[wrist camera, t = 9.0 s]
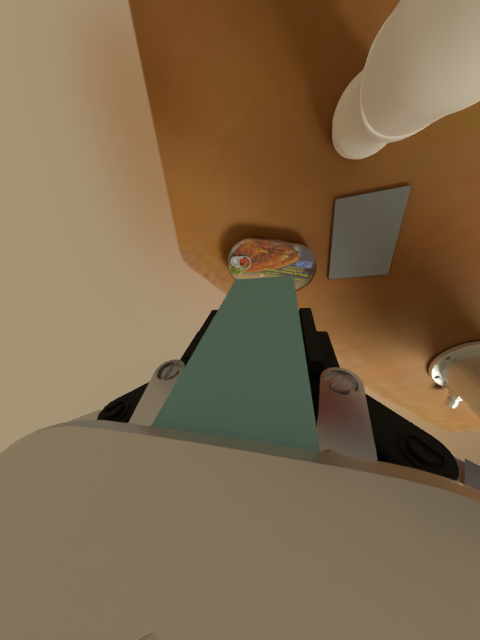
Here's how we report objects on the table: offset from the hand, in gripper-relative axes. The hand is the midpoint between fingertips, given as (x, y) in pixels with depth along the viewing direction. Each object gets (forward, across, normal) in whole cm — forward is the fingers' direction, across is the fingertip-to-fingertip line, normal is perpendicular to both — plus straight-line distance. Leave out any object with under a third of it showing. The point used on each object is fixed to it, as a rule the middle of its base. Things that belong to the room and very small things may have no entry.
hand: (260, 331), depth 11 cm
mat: (+25, -14, 0) cm, 29 cm away
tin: (+24, 0, -1) cm, 24 cm away
